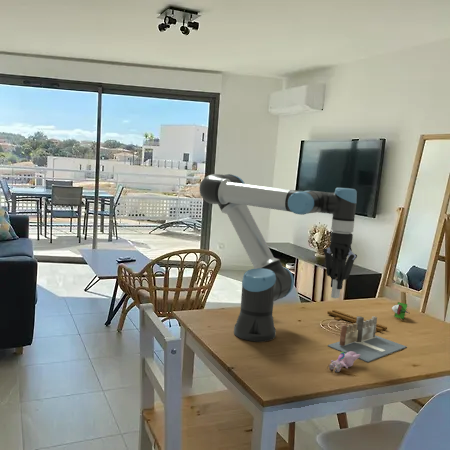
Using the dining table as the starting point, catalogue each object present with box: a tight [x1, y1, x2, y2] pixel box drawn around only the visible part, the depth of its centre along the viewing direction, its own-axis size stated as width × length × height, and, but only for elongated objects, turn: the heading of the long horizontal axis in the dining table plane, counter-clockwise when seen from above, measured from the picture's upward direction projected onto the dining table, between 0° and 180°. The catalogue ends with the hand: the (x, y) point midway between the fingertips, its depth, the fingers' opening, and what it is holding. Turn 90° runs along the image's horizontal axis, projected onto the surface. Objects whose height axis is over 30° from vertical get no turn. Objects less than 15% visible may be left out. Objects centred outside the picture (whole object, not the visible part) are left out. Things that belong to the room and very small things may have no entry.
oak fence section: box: [339, 322, 358, 346], centre depth 167 cm, size 9×2×7 cm, turn 130°
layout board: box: [327, 334, 408, 363], centre depth 167 cm, size 25×16×1 cm, turn 130°
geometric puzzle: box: [391, 301, 409, 320], centre depth 205 cm, size 7×7×8 cm
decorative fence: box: [327, 309, 388, 333], centre depth 194 cm, size 25×2×10 cm
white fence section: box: [356, 315, 378, 342], centre depth 173 cm, size 12×2×9 cm, turn 130°
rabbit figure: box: [325, 351, 360, 375], centre depth 148 cm, size 6×6×15 cm
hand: (335, 297), depth 168 cm, fingers closed
